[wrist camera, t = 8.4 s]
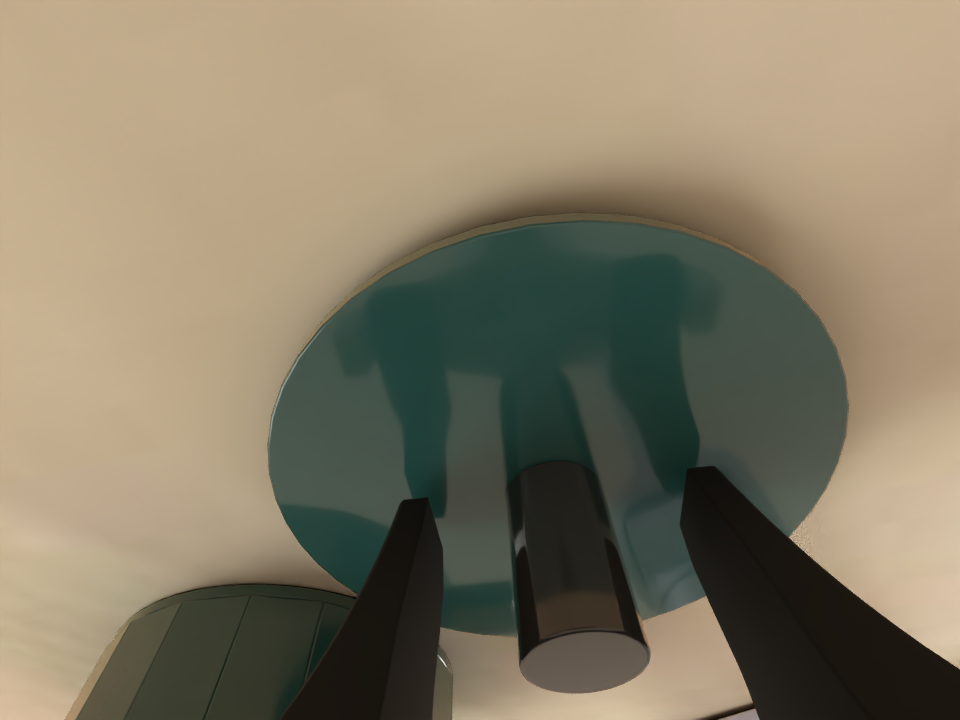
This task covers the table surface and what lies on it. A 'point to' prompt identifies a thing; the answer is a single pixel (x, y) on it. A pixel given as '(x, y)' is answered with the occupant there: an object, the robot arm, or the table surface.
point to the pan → (222, 656)
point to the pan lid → (556, 424)
